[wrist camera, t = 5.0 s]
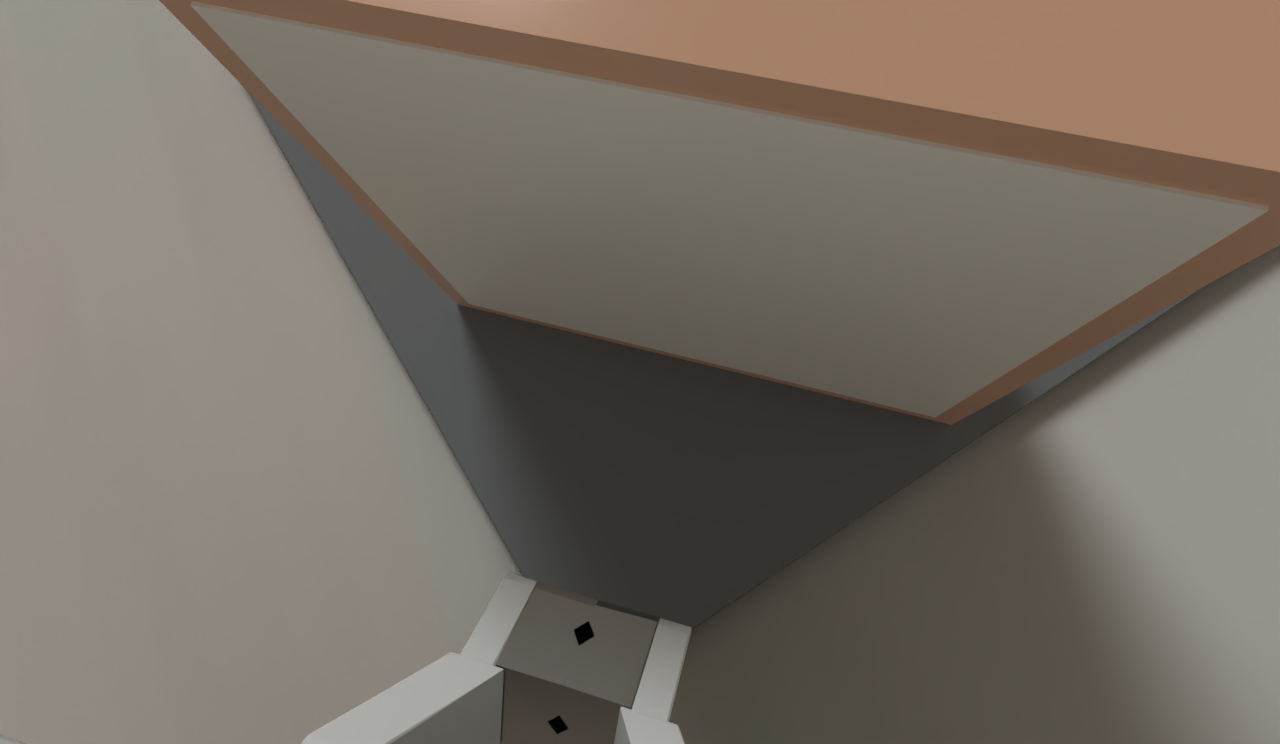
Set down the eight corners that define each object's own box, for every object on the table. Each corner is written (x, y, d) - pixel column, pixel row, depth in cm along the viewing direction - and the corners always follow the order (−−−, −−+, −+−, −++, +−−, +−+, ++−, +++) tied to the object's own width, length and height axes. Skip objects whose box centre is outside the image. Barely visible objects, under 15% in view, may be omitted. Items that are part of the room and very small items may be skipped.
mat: (594, 693, 16) (591, 696, 16) (232, 55, 21) (223, 46, 21) (1441, 126, 18) (1458, 116, 17) (915, -347, 23) (919, -363, 22)
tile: (951, 426, 17) (1378, 195, 6) (456, 306, 18) (117, -38, 8) (974, 301, 17) (1399, -107, 7) (494, 196, 19) (228, -260, 8)
